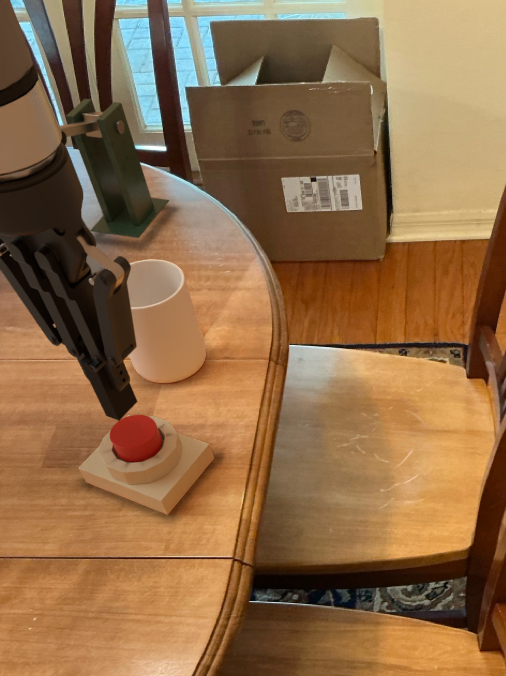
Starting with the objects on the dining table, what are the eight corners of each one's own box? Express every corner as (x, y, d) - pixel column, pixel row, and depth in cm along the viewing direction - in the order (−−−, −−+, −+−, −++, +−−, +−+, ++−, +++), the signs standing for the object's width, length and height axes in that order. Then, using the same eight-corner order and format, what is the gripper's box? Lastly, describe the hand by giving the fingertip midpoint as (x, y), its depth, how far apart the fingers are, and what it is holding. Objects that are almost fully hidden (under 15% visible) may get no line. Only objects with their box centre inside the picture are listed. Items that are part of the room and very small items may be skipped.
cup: (132, 389, 84) (99, 313, 76) (137, 320, 91) (107, 244, 83) (208, 379, 85) (184, 302, 76) (207, 312, 92) (185, 234, 83)
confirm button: (107, 454, 74) (99, 439, 72) (135, 424, 76) (128, 409, 74) (144, 468, 72) (137, 453, 71) (171, 437, 75) (165, 422, 73)
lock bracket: (141, 246, 100) (101, 130, 88) (93, 239, 101) (47, 124, 89) (171, 208, 105) (137, 94, 93) (125, 202, 106) (86, 88, 94)
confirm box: (85, 482, 76) (70, 455, 73) (135, 429, 81) (122, 401, 77) (168, 515, 74) (155, 488, 70) (214, 458, 78) (205, 430, 75)
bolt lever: (60, 151, 83) (56, 126, 82) (16, 146, 84) (11, 121, 83) (127, 136, 94) (124, 114, 93) (87, 131, 95) (84, 109, 94)
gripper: (-107, 161, 51) (39, 414, 70) (45, 205, 47) (155, 458, 67) (-26, 110, 55) (91, 363, 74) (121, 147, 51) (204, 402, 71)
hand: (121, 408), depth 70 cm, fingers closed
